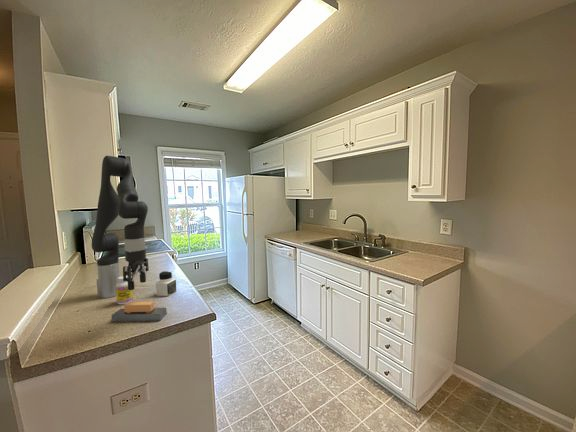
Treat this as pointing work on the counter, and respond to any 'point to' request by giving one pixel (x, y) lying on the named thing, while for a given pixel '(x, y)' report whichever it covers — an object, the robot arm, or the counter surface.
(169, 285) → the medicine bottle
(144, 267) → the robot arm
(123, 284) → the supplement bottle
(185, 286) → the counter surface
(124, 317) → the grey slotted block
